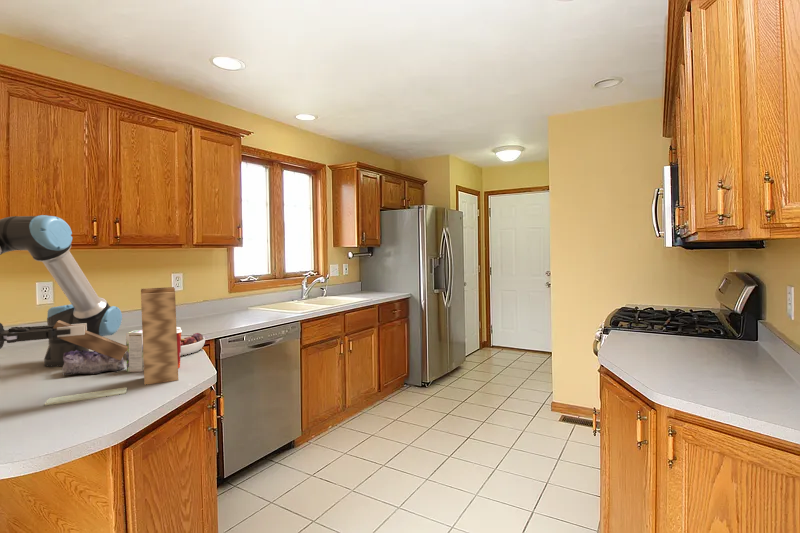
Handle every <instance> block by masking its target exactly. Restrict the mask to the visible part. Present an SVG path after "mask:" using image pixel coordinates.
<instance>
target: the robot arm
mask: <svg viewBox="0 0 800 533" xmlns="http://www.w3.org/2000/svg"><path fill="white" fill-rule="evenodd" d="M72 235H73V232H72V229H71V226H70V225H69V224H68V223H67V222H66V220H64V219H63V218H61V217H58V216H55V215H47V214H45V215H44V214H41V215H23V216H22V215H19V216H17V215H15V216H13V215H11V216H8V217H3V218H0V255H2V254H5V253H9V252H13V251H27V252H28V253H29V254H30V256H31V257H32V258H33V260H34V261H36V262H42V263H43V265H44V267H45V268H46V269H47V271H48V272H49V274H50V275H51V276H52V278H53V279H54V281H55V282H56V284H57V286H58V287H59V288H60V290H61V291H62V292H63V294H64V295H65V297H66V299H68V301H69V303H70V304H64V305H58V306H52V307H49V309H48V310H47V317H46V321H47V325H38V326H37V325H35V326H11V327H10V328H8V329H5V328H4V325H3V323H1V322H0V350H1V349H2V348H3V347H4V344H5V342H6V343H7V344H12V343H18V342H19V343H20V342H28V341H38V340H48V347H47V350H46V353H45V356H44V358H43V365H44V366H45V367H63V365H64V361H63V355H64V353H65V352H70V351H76V350H77V351H81V352H82V350H85V351H89V352H90V351H91V350H90V349H87V348H85V347H82V346H79V345H76V344H74V343H71V342H68V341H65V340H63V339H60V338H57V337H64V336H75V335H85V330H87V331H89V332H92V333H94V334H97V335H100V336H102V337H108V336H112V335H114V334H116V333H117V332H118V331H119V329H120V328H121V325H122V321H123V314H122V310H121V309H120V308H119V306H118V307H117V306H115V305H112V306H110V304H109V303H108V300H106V299H105V298H104V297H100V296H99V295H98V294H97V291H95V289H94V288H93V286H92V284H91V282H89V280H88V278H87V276H86V274H85V273H84V272H83V270H82V268H81V267H80V266H79V263H78V262H77V261H76V259H75V257H74V255H73V254H72V253H71V248H72V242H73V236H72ZM59 320H60V321H63V322H66V323H68V324H71V325H73V326H69V327H57V330H56V328H53V327H54V325H55V324H56V322H57V321H59Z"/></svg>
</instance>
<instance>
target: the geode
mask: <svg viewBox="0 0 800 533" xmlns="http://www.w3.org/2000/svg"><path fill="white" fill-rule="evenodd" d="M89 351H90V352H89ZM89 351H85V350H82V352H81V351H77V350H76V351H70V352H65V353H64V355H63V361H64V365H63V366H61V367H62V375H63V376H67V375H68V376H69V375H70V376H71V375H78V374H79V375H80V374H82V375H97V374H100V373H105V372H115V373H117V372H120V371H123V370H126V369H125V368H126V367H125V360H124V356H123V357H122V359H121V361H120V360H118V359H115V358H112V357H109V356H107V355H104V354H101V353H98V352H96V351H93V350H89Z"/></svg>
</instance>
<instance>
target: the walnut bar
mask: <svg viewBox="0 0 800 533" xmlns="http://www.w3.org/2000/svg"><path fill="white" fill-rule="evenodd" d="M69 326H73V325H71V324H68V323H66V322H63V321H60V320H59V321H57V322H56V324H55V325H54V327H53V328H56V330H57V327H69ZM57 338H60V339H63V340H65V341H68V342H71V343H74V344H76V345H79V346H82V347H85V348H87V349H89V351H96V352H98V353H101V354H104V355H107V356H109V357H112V358H115V359H118V360H120V361H121V359H122V357H123V358H124V356H125V354H126V351H127V349H128V346H126V344H123V343H121V342H118V341H115V340H113V339H109V338H107V337H106V336H100V335H97V334H94V333H92V332H89V331H87V330H85V335H75V336H64V337H57Z"/></svg>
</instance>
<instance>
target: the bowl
mask: <svg viewBox="0 0 800 533" xmlns="http://www.w3.org/2000/svg"><path fill="white" fill-rule="evenodd" d="M205 342H206V338H205V336H203V334H201V333H199V332H195V333H193V334H181V356H180V357H183V355H184V356H187V354H188V355H191V353H192V354H194V353H196V352H199V351H200V350H201V349H202V348H203V347H204V345H205Z"/></svg>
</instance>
